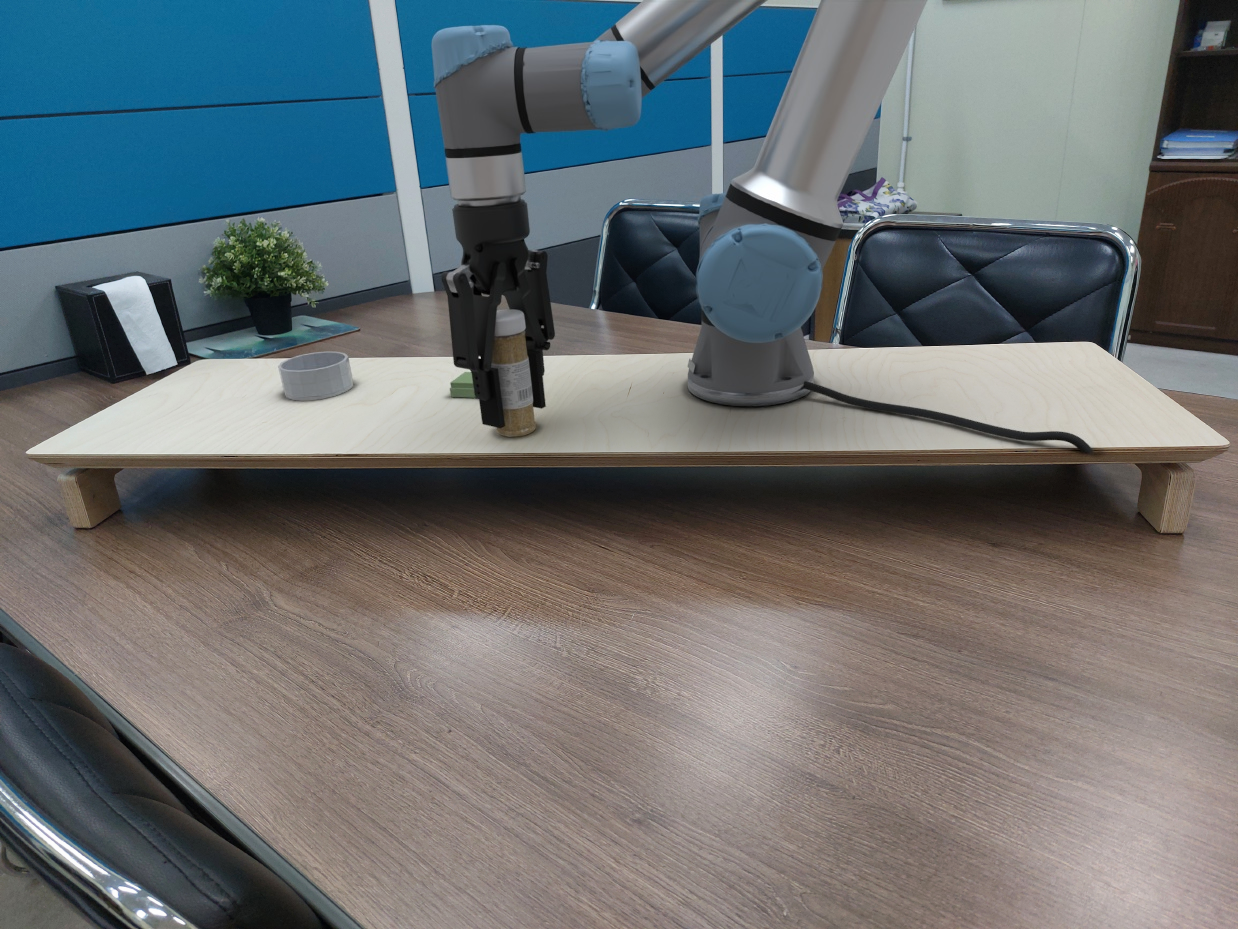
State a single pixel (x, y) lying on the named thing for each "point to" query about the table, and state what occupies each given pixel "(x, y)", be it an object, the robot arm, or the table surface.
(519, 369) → the spice jar
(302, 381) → the grey short cylinder
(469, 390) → the green stepped block
